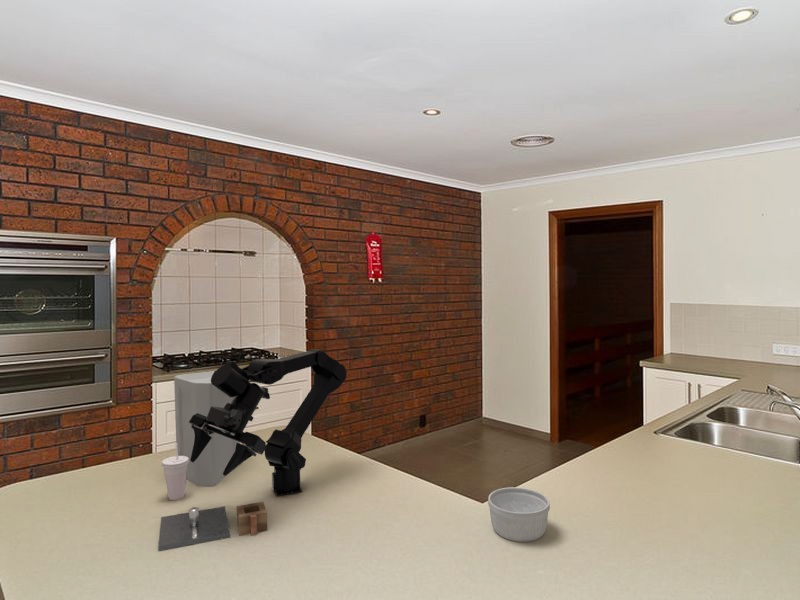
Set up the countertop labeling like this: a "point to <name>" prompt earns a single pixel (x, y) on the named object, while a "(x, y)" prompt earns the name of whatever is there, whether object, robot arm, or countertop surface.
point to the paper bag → (191, 399)
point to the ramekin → (519, 513)
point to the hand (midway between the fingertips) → (207, 468)
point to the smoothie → (175, 475)
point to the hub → (193, 527)
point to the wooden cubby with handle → (251, 518)
